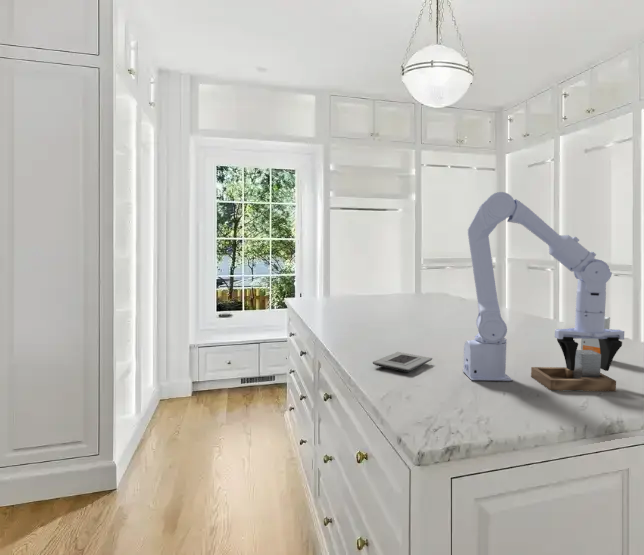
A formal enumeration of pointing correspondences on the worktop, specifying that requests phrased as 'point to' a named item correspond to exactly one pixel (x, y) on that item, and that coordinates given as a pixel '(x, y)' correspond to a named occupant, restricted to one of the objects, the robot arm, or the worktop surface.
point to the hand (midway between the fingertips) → (587, 369)
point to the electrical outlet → (402, 361)
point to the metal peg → (587, 364)
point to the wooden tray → (571, 380)
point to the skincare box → (594, 340)
